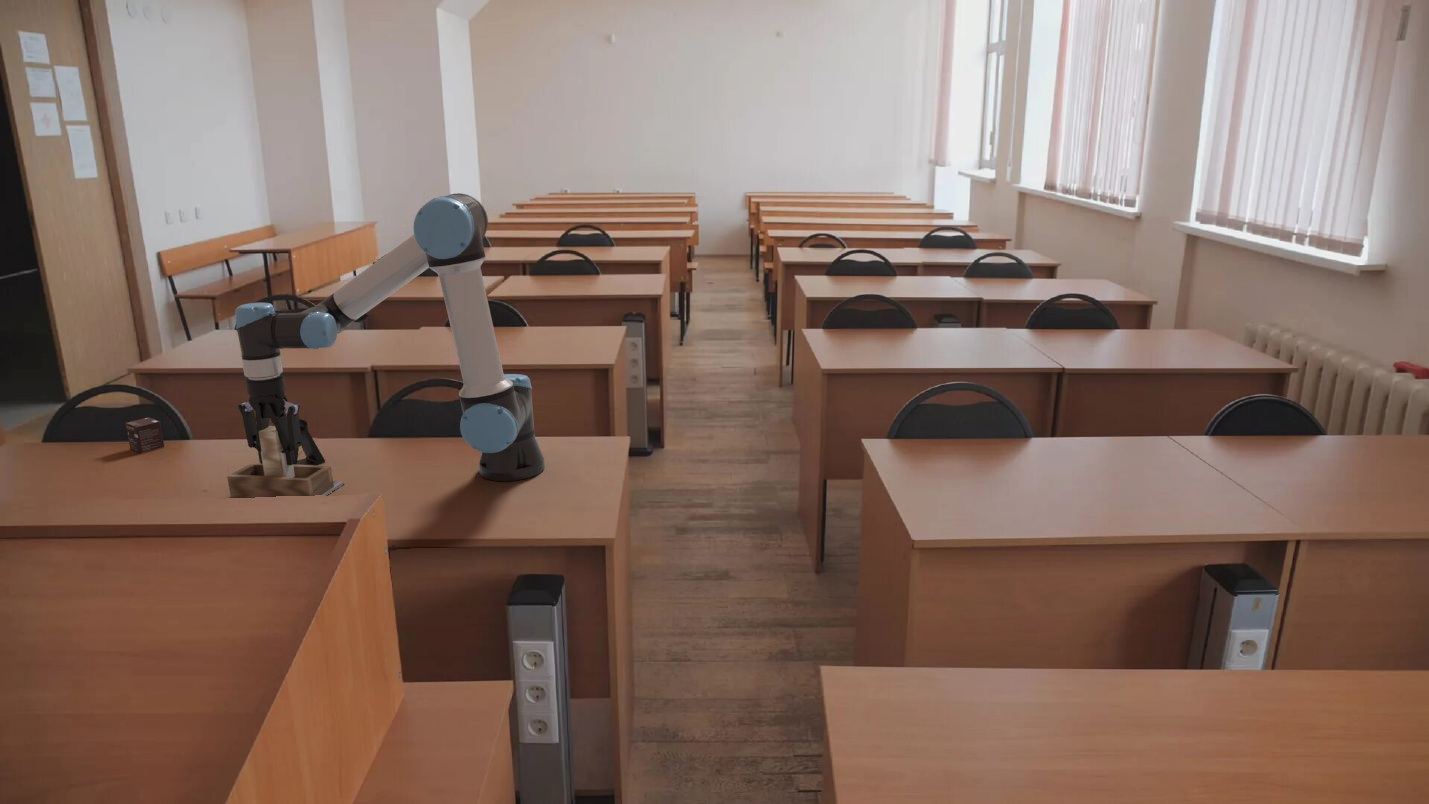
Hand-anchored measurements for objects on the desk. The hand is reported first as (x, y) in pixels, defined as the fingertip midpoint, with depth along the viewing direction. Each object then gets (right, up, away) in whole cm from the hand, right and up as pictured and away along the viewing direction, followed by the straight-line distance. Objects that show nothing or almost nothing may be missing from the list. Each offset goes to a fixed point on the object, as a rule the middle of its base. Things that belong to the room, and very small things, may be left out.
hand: (280, 477), depth 208 cm
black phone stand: (-4, +1, +21) cm, 21 cm away
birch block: (0, -1, 0) cm, 1 cm away
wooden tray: (0, -4, +1) cm, 4 cm away
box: (-50, +4, +35) cm, 61 cm away
